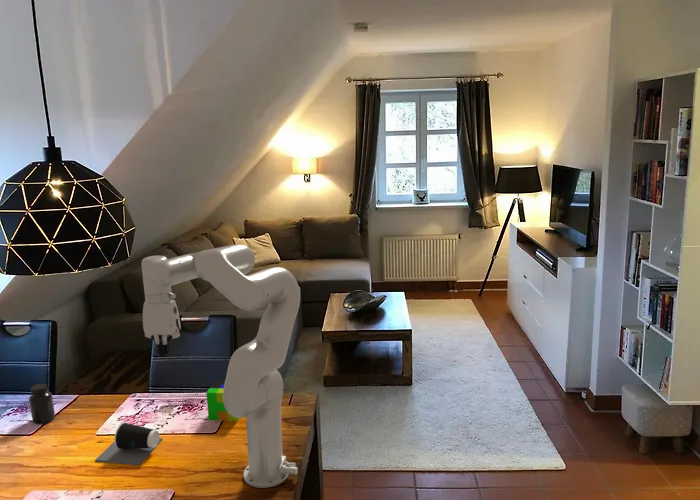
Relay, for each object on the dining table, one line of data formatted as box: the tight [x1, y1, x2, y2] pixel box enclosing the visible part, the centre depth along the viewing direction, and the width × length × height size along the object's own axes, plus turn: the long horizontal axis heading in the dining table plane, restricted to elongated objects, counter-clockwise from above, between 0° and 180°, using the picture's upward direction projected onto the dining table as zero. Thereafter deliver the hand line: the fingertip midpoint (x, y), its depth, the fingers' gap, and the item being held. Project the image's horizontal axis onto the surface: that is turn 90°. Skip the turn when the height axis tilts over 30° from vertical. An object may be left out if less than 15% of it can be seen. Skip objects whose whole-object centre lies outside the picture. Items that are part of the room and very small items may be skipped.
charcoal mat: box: [95, 437, 164, 466], centre depth 176 cm, size 14×14×1 cm
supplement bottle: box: [28, 383, 56, 425], centre depth 194 cm, size 7×7×12 cm
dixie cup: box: [113, 421, 160, 449], centre depth 175 cm, size 8×8×11 cm
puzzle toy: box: [206, 378, 240, 422], centre depth 197 cm, size 10×10×10 cm
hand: (164, 355), depth 176 cm, fingers closed
